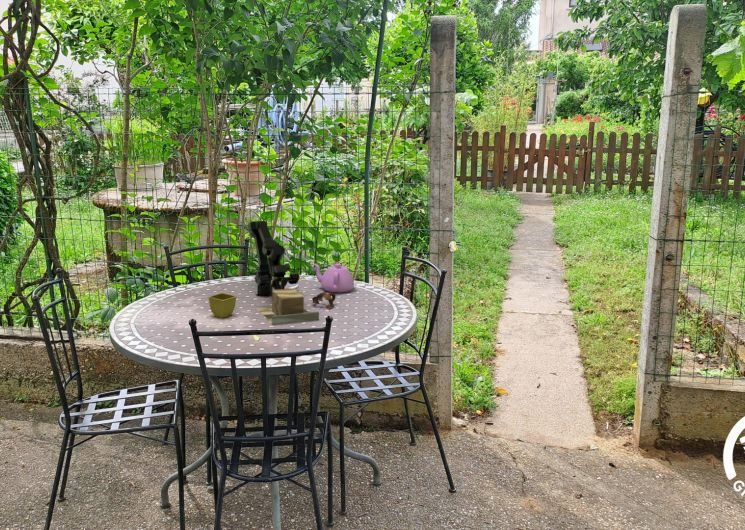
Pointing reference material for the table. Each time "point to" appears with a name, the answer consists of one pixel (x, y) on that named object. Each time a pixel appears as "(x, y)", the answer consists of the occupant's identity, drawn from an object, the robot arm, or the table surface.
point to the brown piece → (326, 296)
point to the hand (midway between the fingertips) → (282, 295)
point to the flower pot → (222, 304)
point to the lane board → (287, 316)
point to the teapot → (335, 278)
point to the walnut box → (287, 302)
